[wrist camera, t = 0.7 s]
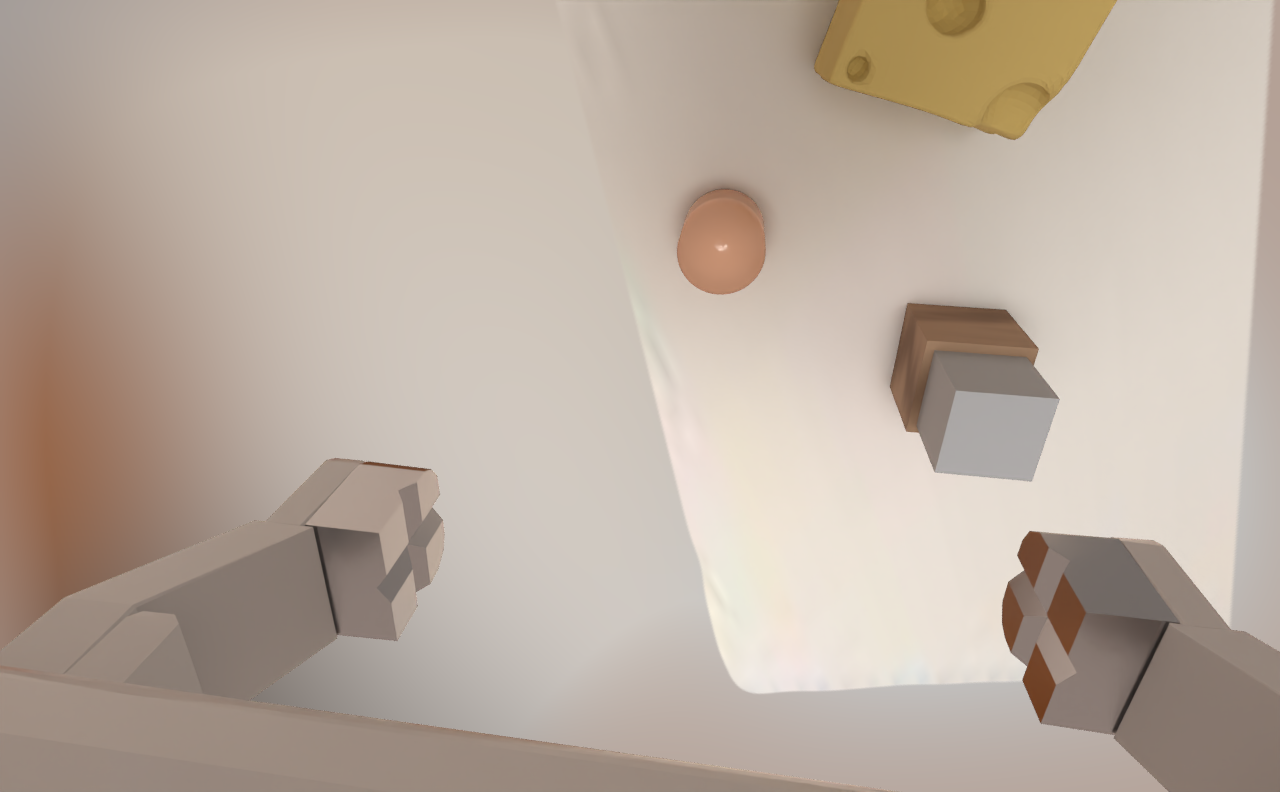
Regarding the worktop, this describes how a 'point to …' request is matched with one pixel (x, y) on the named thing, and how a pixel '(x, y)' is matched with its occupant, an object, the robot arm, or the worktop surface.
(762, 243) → the peach brown rounded dome
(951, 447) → the grey block
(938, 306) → the walnut block
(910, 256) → the worktop surface
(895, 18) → the cheese
